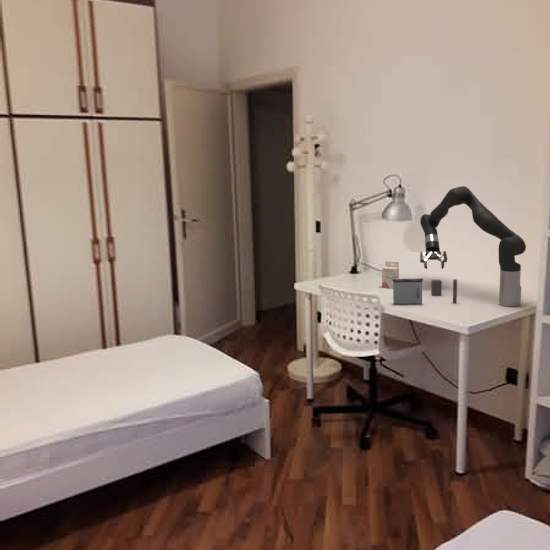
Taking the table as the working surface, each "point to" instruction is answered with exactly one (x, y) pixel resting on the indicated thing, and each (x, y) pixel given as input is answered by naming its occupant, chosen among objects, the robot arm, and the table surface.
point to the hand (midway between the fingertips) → (434, 268)
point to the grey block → (407, 292)
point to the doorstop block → (436, 287)
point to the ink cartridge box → (389, 274)
